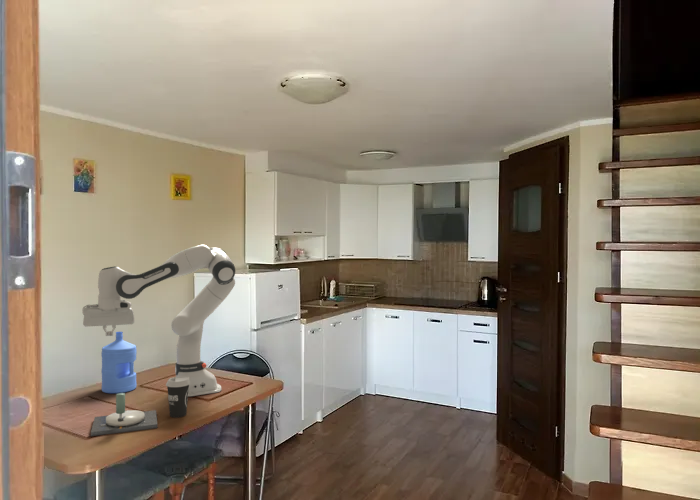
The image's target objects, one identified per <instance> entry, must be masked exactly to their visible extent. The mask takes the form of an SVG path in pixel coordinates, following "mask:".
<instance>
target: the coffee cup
mask: <svg viewBox="0 0 700 500" xmlns="http://www.w3.org/2000/svg"><path fill="white" fill-rule="evenodd" d="M189 384H190V381H189V380H188V378H187V377H176V376H174V377H170V378H168V379H167V381H166V383H165V386H166V387H167V395H168V397H167V398H168V409H169V417H171V418H174V419H175V418H176V419H177V418H182V417H186V416H187V411H188V401H189V400H188V399H189V396H188V390H189Z"/></svg>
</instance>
